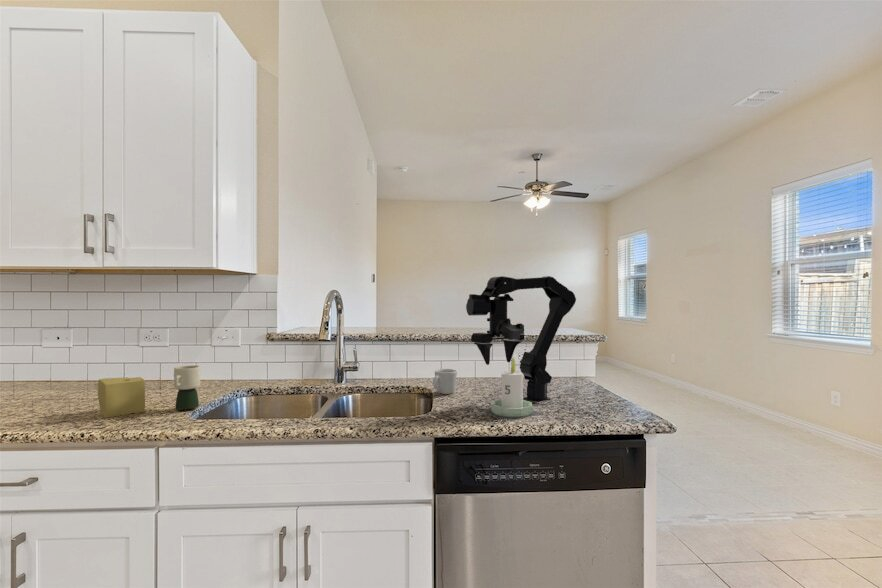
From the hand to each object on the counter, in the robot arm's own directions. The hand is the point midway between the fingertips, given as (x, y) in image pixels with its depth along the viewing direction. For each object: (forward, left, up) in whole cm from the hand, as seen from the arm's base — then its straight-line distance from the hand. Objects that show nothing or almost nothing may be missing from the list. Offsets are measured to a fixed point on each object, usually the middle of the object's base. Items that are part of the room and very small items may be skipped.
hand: (498, 363), depth 143 cm
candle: (+5, +11, -12) cm, 17 cm away
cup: (+6, -22, -13) cm, 26 cm away
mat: (+5, +11, -13) cm, 18 cm away
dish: (+5, +11, -13) cm, 17 cm away
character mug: (+83, -51, -13) cm, 98 cm away
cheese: (+99, -58, -13) cm, 115 cm away
